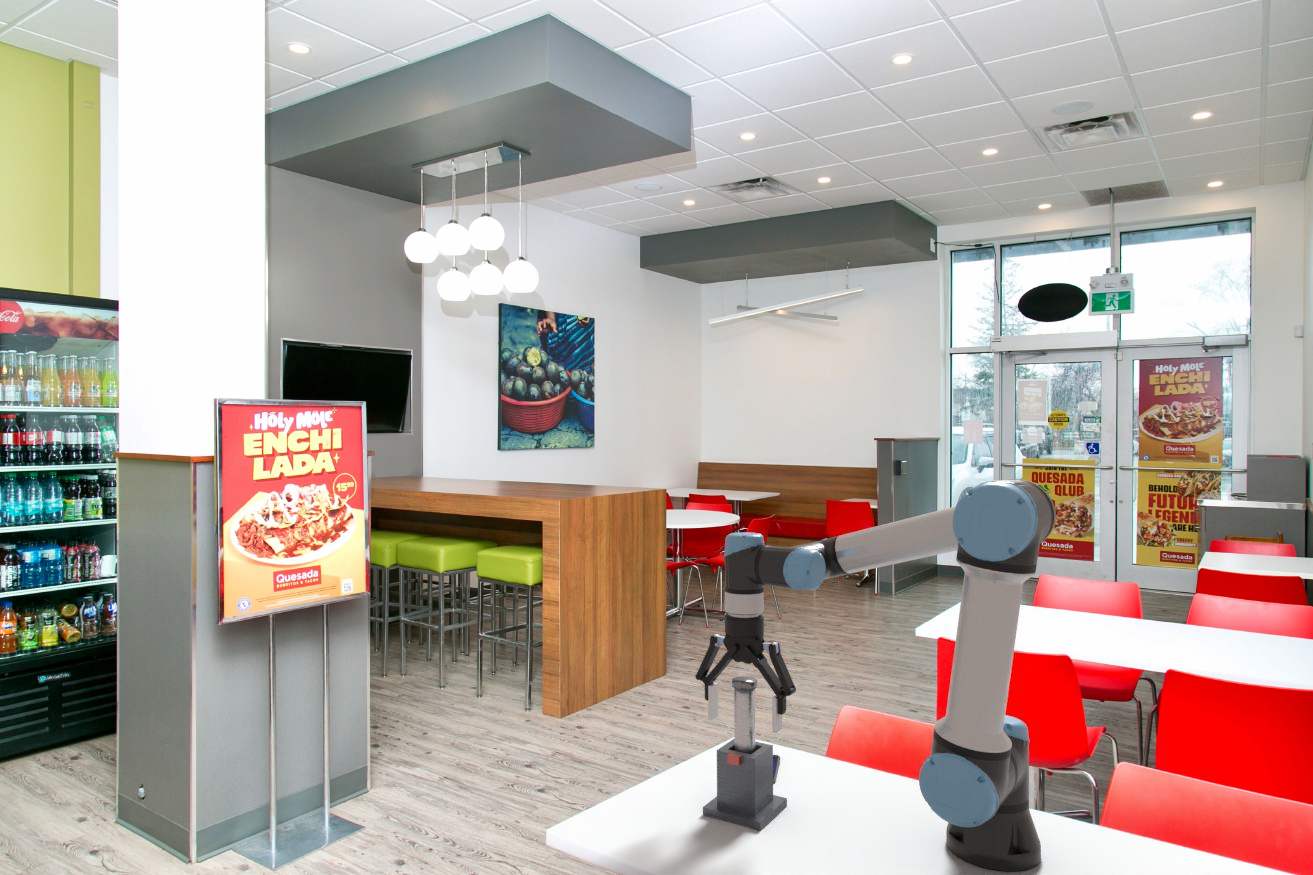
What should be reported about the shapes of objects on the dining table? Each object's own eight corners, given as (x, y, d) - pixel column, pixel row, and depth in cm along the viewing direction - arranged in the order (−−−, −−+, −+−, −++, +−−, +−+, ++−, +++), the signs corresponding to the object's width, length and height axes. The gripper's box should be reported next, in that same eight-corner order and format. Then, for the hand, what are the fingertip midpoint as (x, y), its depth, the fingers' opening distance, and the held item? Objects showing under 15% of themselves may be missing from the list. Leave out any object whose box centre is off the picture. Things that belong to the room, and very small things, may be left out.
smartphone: (739, 778, 169) (748, 752, 184) (740, 783, 169) (748, 756, 184) (775, 781, 168) (781, 754, 182) (775, 785, 168) (781, 758, 182)
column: (762, 799, 157) (761, 678, 157) (751, 808, 152) (750, 684, 153) (739, 793, 159) (739, 674, 159) (728, 802, 155) (727, 680, 155)
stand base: (786, 805, 158) (786, 743, 158) (760, 830, 148) (760, 764, 148) (731, 791, 164) (731, 732, 164) (702, 814, 154) (702, 751, 154)
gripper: (812, 617, 153) (813, 730, 153) (697, 603, 166) (697, 707, 166) (797, 624, 146) (797, 742, 146) (678, 609, 160) (678, 717, 160)
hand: (744, 723), depth 156 cm, fingers open, 13 cm apart
